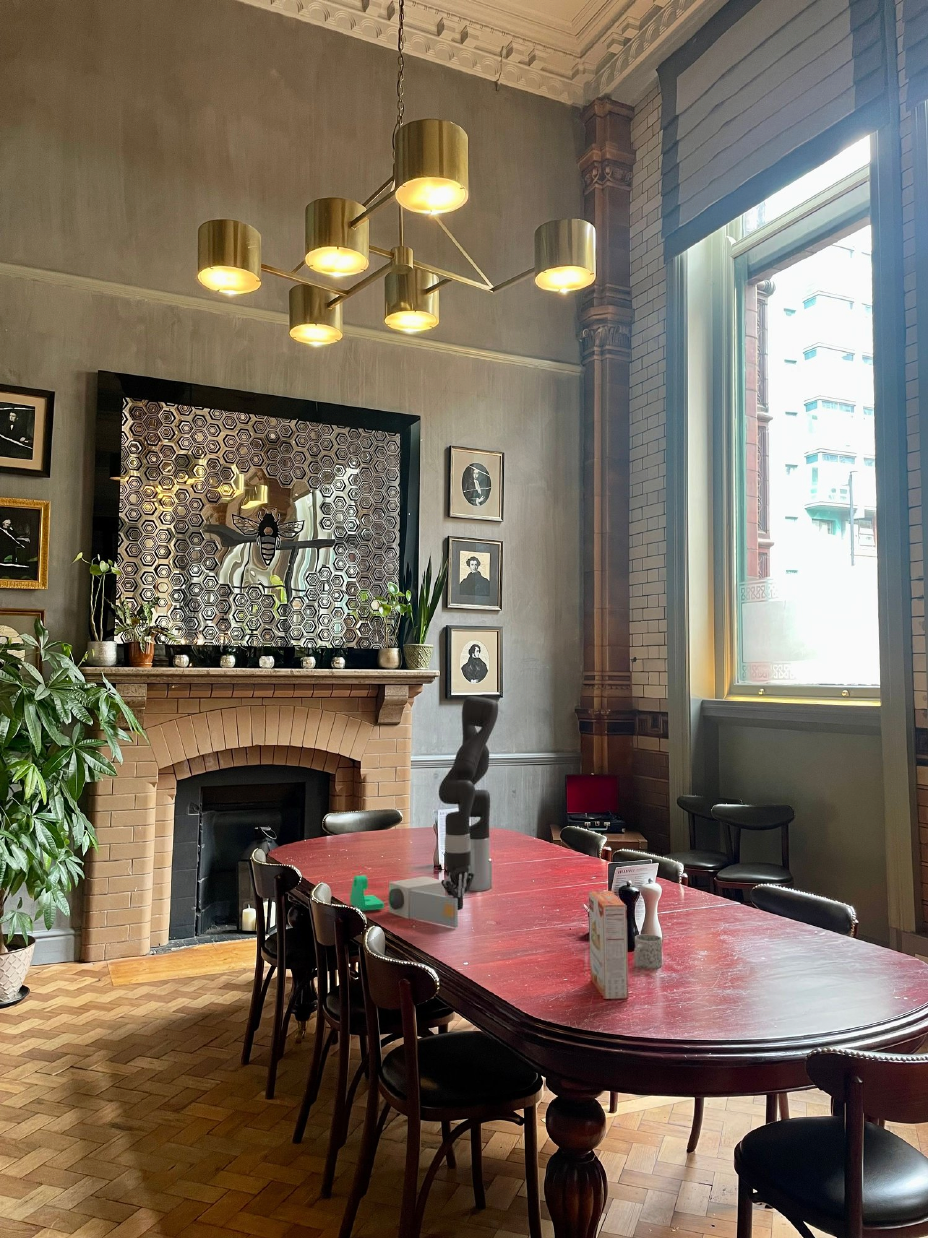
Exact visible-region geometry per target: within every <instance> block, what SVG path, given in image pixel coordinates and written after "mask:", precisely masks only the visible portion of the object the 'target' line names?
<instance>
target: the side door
mask: <svg viewBox="0 0 928 1238" xmlns="http://www.w3.org/2000/svg"><path fill="white" fill-rule="evenodd" d="M458 912H459V910H458V898H453V896H446V895H445V896H442V895H437V894H432V893H427V892H421V891H416V890H409V919H414V920H418V921H423V922H427V923H432V924H437V925H441V926H445V927H450V928H451V927H452V928H458V927H459V926H458V925H459V923H458V921H459V920H458V919H459V915H458Z"/></svg>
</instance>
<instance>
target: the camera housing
mask: <svg viewBox="0 0 928 1238" xmlns="http://www.w3.org/2000/svg"><path fill="white" fill-rule="evenodd" d="M441 881H442V880H441V879H437V878H434V877H430V876H426V875H425V876H420V877H412V878H407V879H400V880H396V881H395V880H394V881H389V882H388V912H389V913H391V914H393V915H396V916H399V917H402V918H405V919H406V920H408V919H410V918H409V890H416V891H421V892H427V893H432V894H437V895H442V896H446V890H445V889H444V887H443V885H442V883H441Z"/></svg>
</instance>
